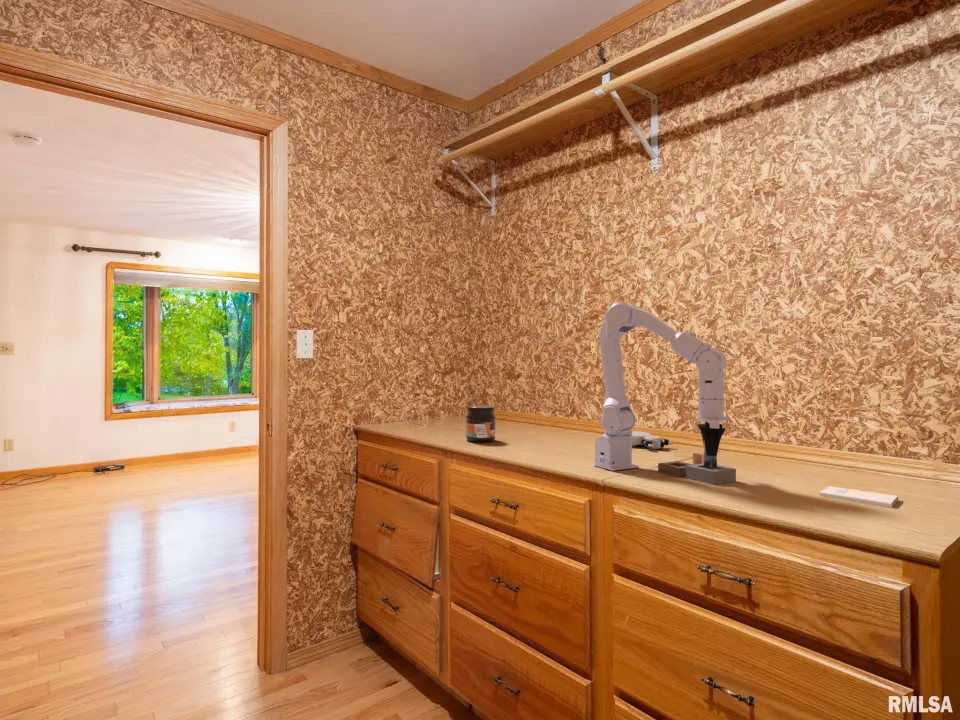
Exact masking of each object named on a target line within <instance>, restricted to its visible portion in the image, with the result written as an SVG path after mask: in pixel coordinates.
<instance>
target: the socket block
mask: <svg viewBox="0 0 960 720" xmlns="http://www.w3.org/2000/svg"><path fill="white" fill-rule="evenodd" d="M687 465H693V463H687V462H684V461H679V460H674V461H666V462H665V461H664V462H658V463H657V472H658V473H662V474H665V475H668V476H673V477H678V478H684V477H685V478H686V466H687Z"/></svg>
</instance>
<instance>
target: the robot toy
mask: <svg viewBox="0 0 960 720" xmlns="http://www.w3.org/2000/svg"><path fill="white" fill-rule="evenodd" d="M631 431H632V447H636V446H644V447H646V448H648V449H649V450H659V449H662V448H665V446H669V445H671V446H672V445H674V441H670V440H669V439H668V438H667V439H666V438H662V437H661V436H657V435H653V433H649V432H646V431H639V430H635V431H633V430H631Z"/></svg>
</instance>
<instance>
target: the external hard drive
mask: <svg viewBox="0 0 960 720" xmlns="http://www.w3.org/2000/svg"><path fill="white" fill-rule="evenodd" d="M819 496H820V497H822V496H825V497H824V498H828V497H832V498H831V499H834V498H837V499H836V500H840V499H843V500H842V501H846V500H849V501H848V502H852V501H854V503H858V502H860V504H864V503H866V504H865V505H870V504H871V505H872V506H876V505H877V506H878V507H884V508H888V509H889V508H890V509H893V507H894V506H895V505H896V504H897V503H898V501H899V496H898V495H895V494H894V495H893V494H886V493H879V492H873V491H865V490H859V489H852V488H844V487H839V486H838V487H837V486H831V485H829V486H827V487H824V489H822V490H821V491H820V492H819Z"/></svg>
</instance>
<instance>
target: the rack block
mask: <svg viewBox="0 0 960 720" xmlns="http://www.w3.org/2000/svg"><path fill="white" fill-rule="evenodd" d="M685 478H686V479H690V480H693V481H696V482H697V481H698V482H701V483H704V484H710V485H712V486H714V485H720V484H727V483H734V482H736V481H737V468H734V467H730V466H726V465H725V466H724V465H720V464H717V468H708V467H704V463H702V464H694V465H687V466H686V476H685Z"/></svg>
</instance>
